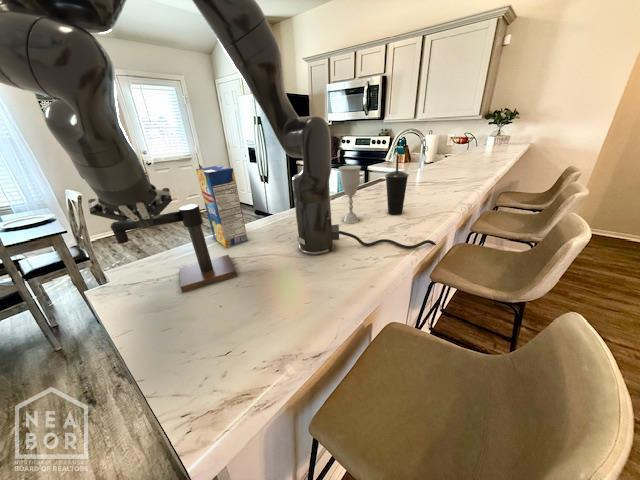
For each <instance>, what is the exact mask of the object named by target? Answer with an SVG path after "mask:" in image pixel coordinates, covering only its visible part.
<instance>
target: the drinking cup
mask: <svg viewBox="0 0 640 480" xmlns="http://www.w3.org/2000/svg"><path fill="white" fill-rule="evenodd" d="M399 159H400V154H397V155H396V160H395V161H396V162H395V170H393V171H389V172H388V173H386V174H385V175H384V177H385V182H386V201H387V214H388V215H390V216H400V215H402V214H403V210H404V204H405V203H404V202H405V198H406V197H405V196H406V190H407V183H408V178H409V175H410V174H408V173H406V172H404V171H401V170H399Z"/></svg>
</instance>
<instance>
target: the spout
mask: <svg viewBox="0 0 640 480" xmlns="http://www.w3.org/2000/svg"><path fill="white" fill-rule="evenodd" d="M151 216H152V218H153V222H154V224H153V225H151V227H157V226H161V225H162V226H163V225H168V224H174V223H180V222H182V224H183V227H184V228H188V227H195V226H199V225H201V226H202V225H203V223H204V220H203V216H202V213H201V208H200V205H199V204H187V205H183V206H181V207H179V208H178V211H173V212H172V211H171V212H166V213H160V214H159V215H157V216H153V215H151ZM110 229H111V231H112V233H113V235H114V237H115V240H116V242H117V244H120V245H121V244H125V243H128V242H130V238H129V236H128V234H127V232H128V231H133V230H139V229H143V228H142V227H138V226H137V225H136V223H135V222H134V221H132V220H131V219H127V221H125V222H121V221H117V220H116V221H113V222H112V223H111V224H110Z"/></svg>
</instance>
